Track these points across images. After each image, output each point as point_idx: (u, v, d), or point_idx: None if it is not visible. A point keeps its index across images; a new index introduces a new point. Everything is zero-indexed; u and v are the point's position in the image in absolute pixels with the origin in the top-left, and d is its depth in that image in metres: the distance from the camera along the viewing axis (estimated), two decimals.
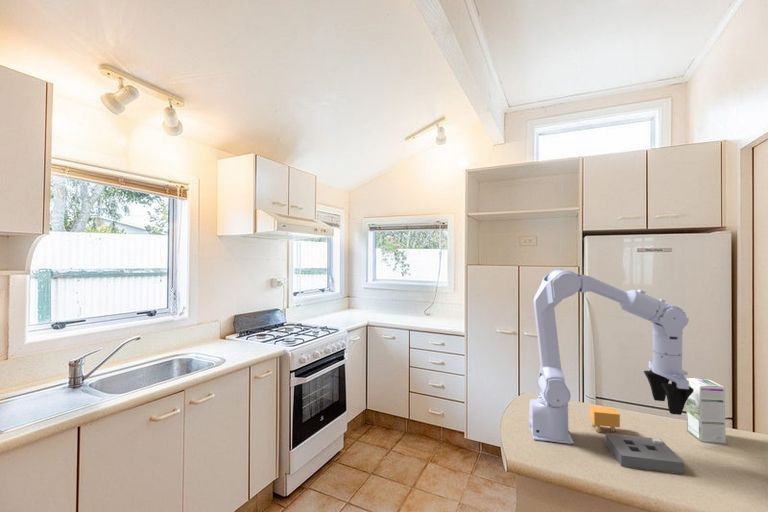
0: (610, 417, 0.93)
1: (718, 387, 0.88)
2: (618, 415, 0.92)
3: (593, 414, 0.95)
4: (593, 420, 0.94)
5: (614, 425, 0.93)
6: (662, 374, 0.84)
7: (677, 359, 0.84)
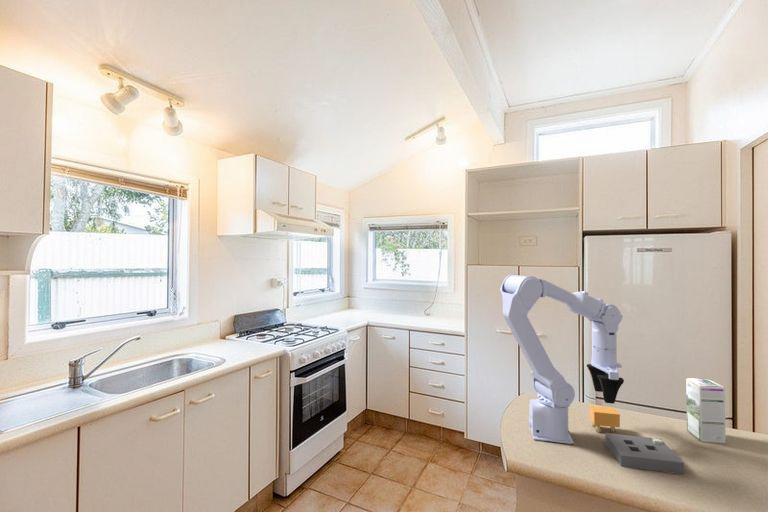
0: (610, 417, 0.93)
1: (718, 387, 0.88)
2: (618, 415, 0.92)
3: (593, 414, 0.95)
4: (593, 420, 0.94)
5: (614, 425, 0.93)
6: (598, 367, 0.93)
7: (611, 353, 0.92)
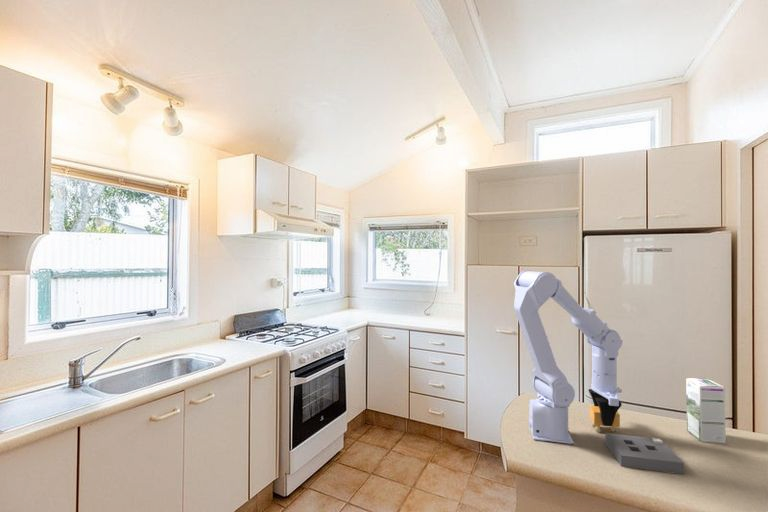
0: None
1: (718, 387, 0.88)
2: (618, 415, 0.92)
3: (593, 414, 0.95)
4: (593, 420, 0.94)
5: (614, 425, 0.93)
6: (598, 392, 0.93)
7: (611, 378, 0.92)
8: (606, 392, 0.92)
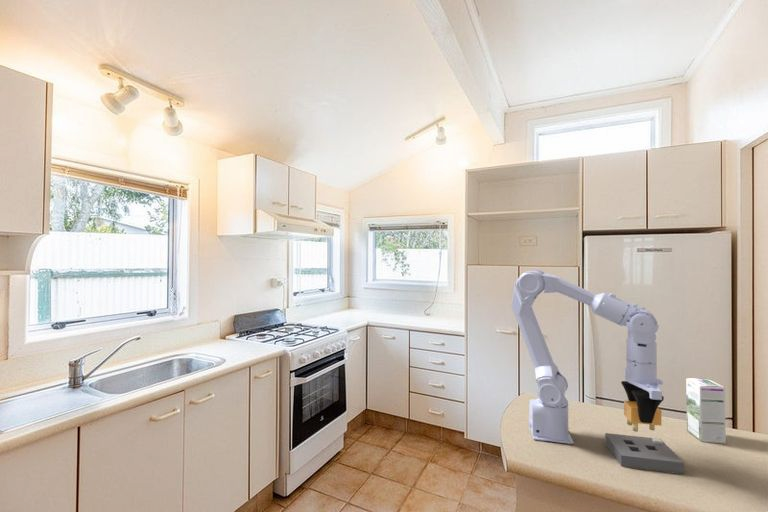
0: None
1: (718, 387, 0.88)
2: (659, 411, 0.80)
3: (629, 410, 0.82)
4: (629, 417, 0.82)
5: (655, 423, 0.80)
6: (635, 383, 0.80)
7: (651, 368, 0.79)
8: (645, 384, 0.79)
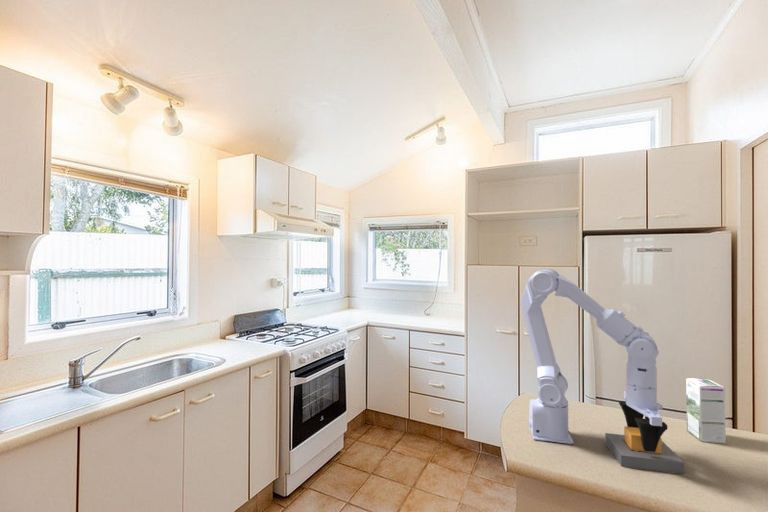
0: None
1: (718, 387, 0.88)
2: (660, 439, 0.80)
3: (629, 437, 0.82)
4: (629, 444, 0.82)
5: None
6: (635, 408, 0.80)
7: (651, 392, 0.79)
8: (645, 409, 0.79)
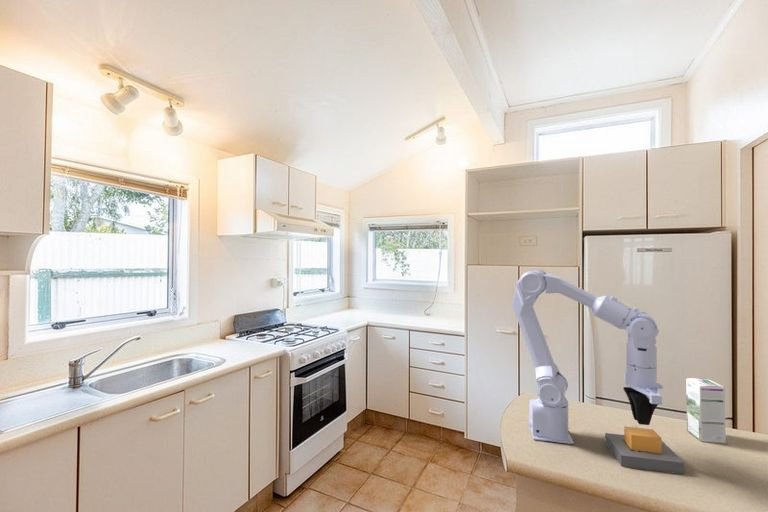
0: (650, 441, 0.80)
1: (718, 387, 0.88)
2: (660, 439, 0.80)
3: (629, 437, 0.82)
4: (629, 444, 0.82)
5: (655, 450, 0.80)
6: (635, 388, 0.80)
7: (651, 372, 0.79)
8: (645, 388, 0.79)
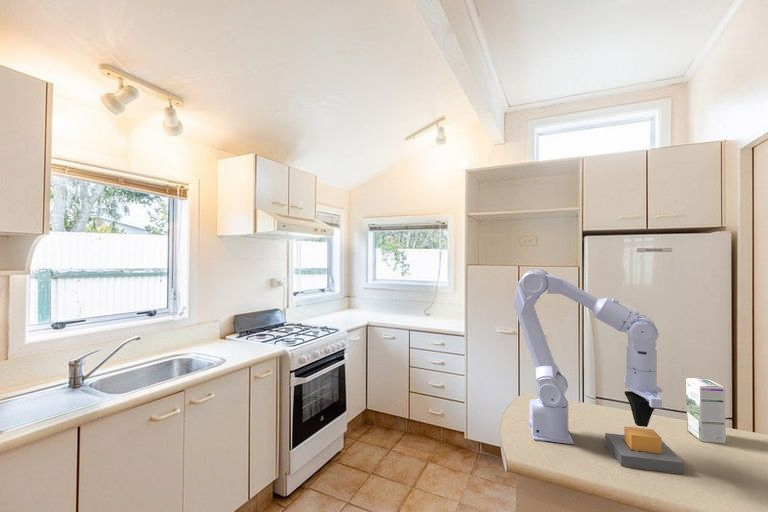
0: (650, 441, 0.80)
1: (718, 387, 0.88)
2: (660, 439, 0.80)
3: (629, 437, 0.82)
4: (629, 444, 0.82)
5: (655, 450, 0.80)
6: (635, 391, 0.80)
7: (651, 375, 0.79)
8: (645, 392, 0.79)
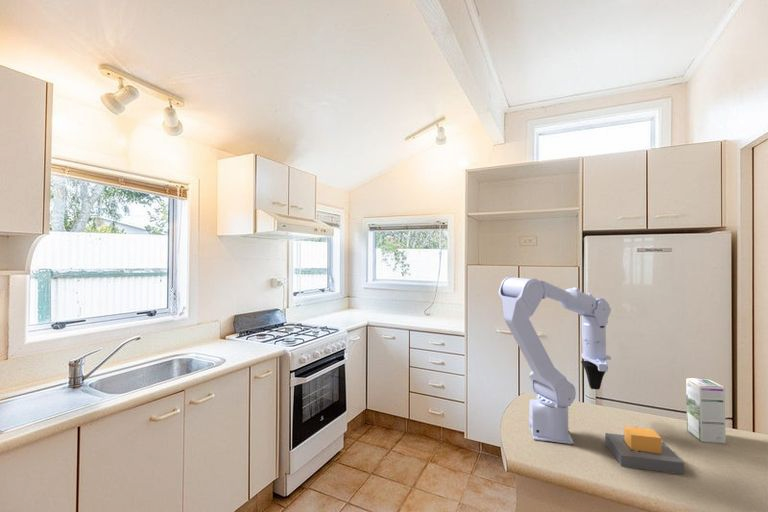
0: (650, 441, 0.80)
1: (718, 387, 0.88)
2: (660, 439, 0.80)
3: (629, 437, 0.82)
4: (629, 444, 0.82)
5: (655, 450, 0.80)
6: (588, 359, 0.95)
7: (600, 345, 0.94)
8: (596, 359, 0.94)
